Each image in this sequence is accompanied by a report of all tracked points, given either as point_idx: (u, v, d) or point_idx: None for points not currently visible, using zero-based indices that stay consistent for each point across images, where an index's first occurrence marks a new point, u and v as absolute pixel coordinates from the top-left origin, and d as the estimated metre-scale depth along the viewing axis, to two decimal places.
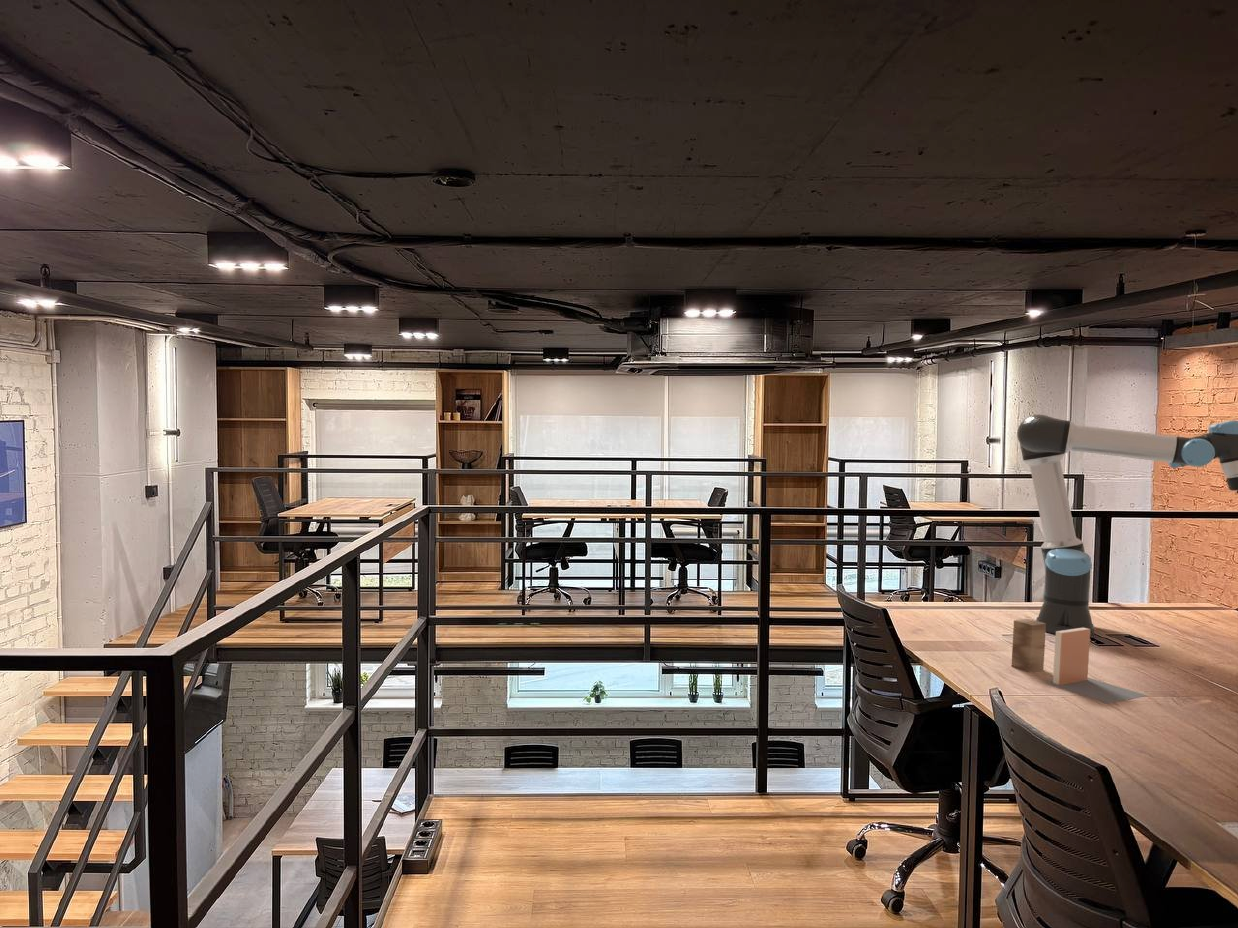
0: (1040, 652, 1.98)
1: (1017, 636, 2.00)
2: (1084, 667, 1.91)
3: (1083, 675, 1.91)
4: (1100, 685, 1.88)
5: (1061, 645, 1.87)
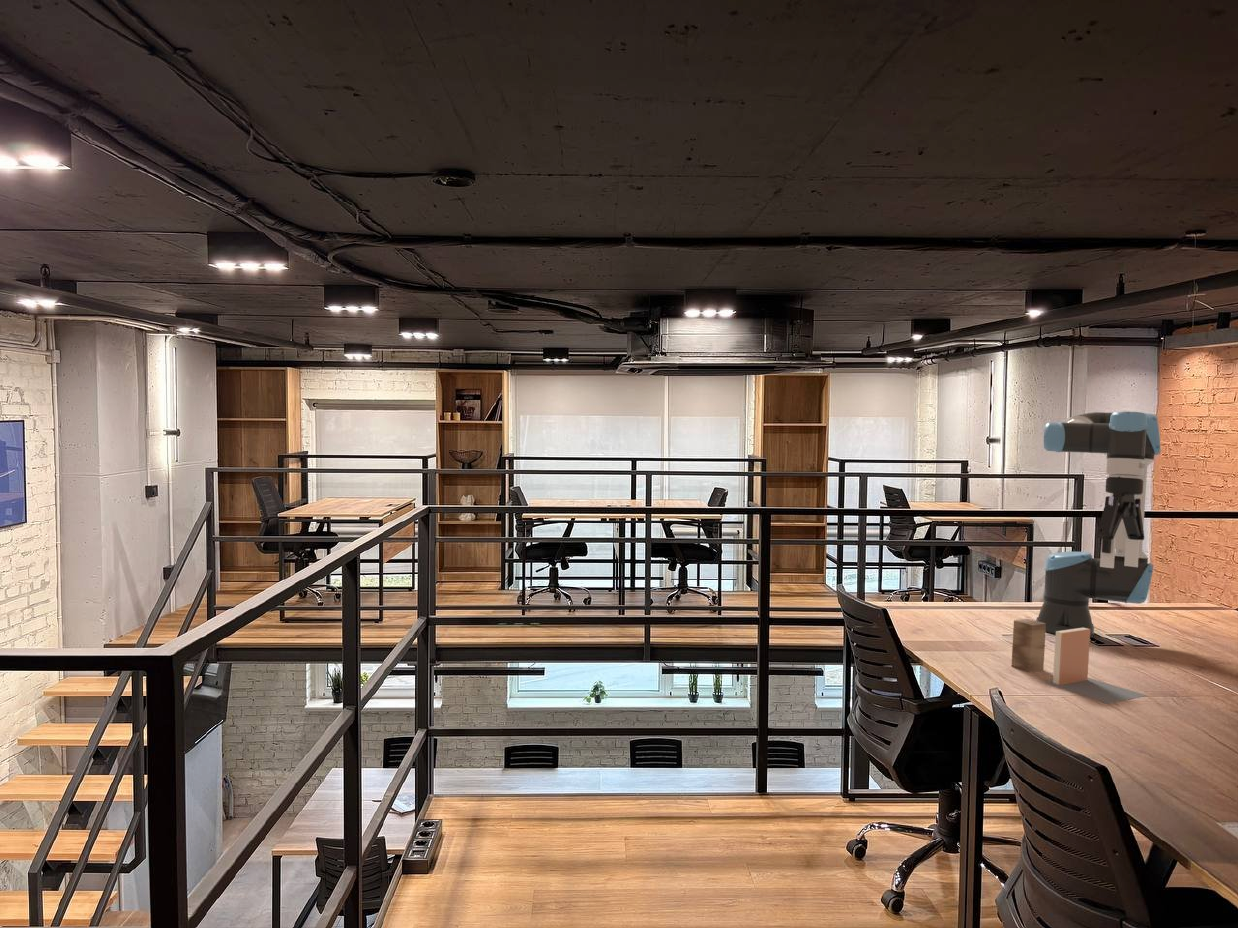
0: (1040, 652, 1.98)
1: (1017, 636, 2.00)
2: (1084, 667, 1.91)
3: (1083, 675, 1.91)
4: (1100, 685, 1.88)
5: (1061, 645, 1.87)
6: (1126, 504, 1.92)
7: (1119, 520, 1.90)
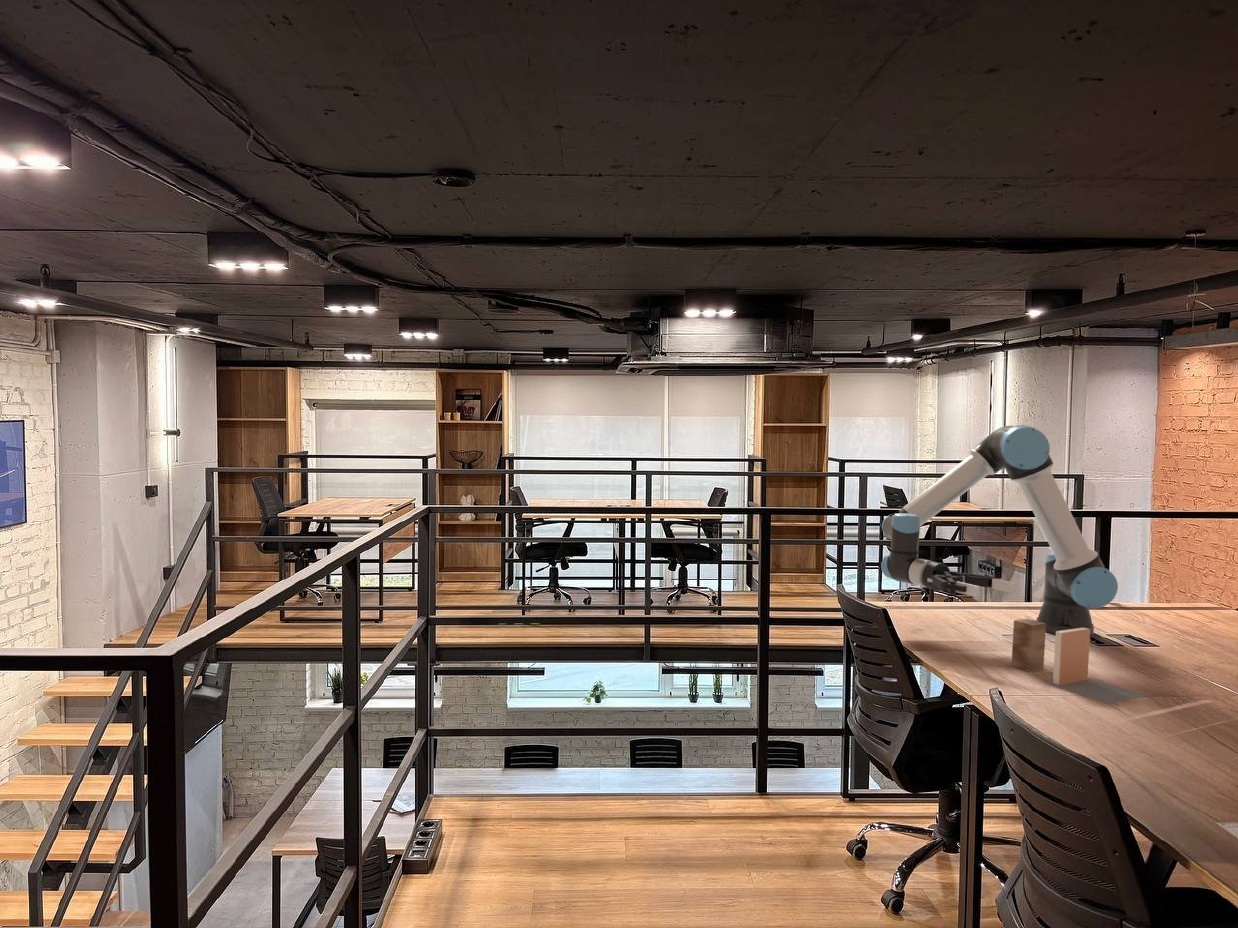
0: (1040, 652, 1.98)
1: (1017, 636, 2.00)
2: (1084, 667, 1.91)
3: (1083, 675, 1.91)
4: (1100, 685, 1.88)
5: (1061, 645, 1.87)
6: None
7: None
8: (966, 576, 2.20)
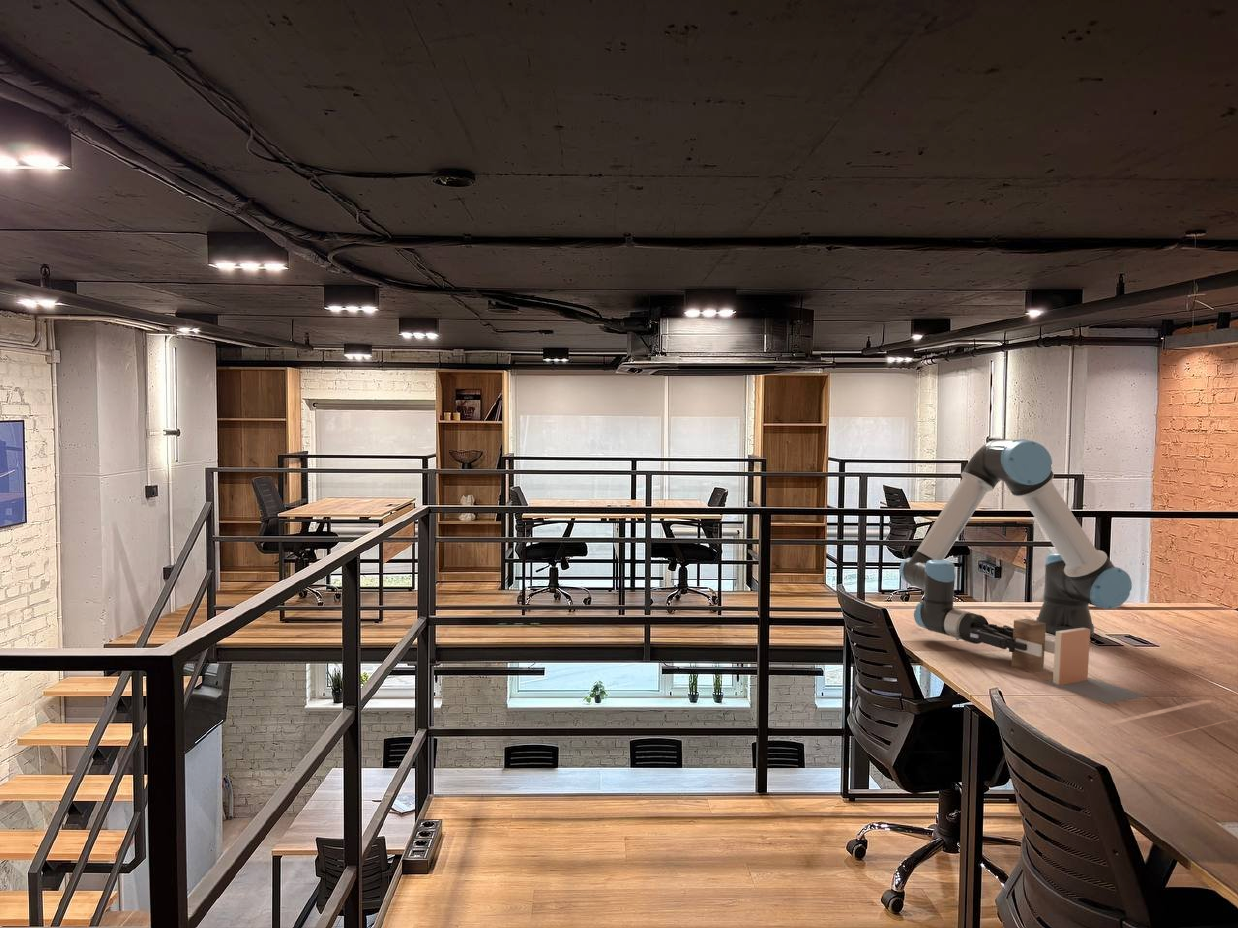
0: None
1: (1017, 635, 2.00)
2: (1084, 667, 1.91)
3: (1083, 675, 1.91)
4: (1100, 685, 1.88)
5: (1061, 645, 1.87)
6: None
7: None
8: (1004, 630, 2.08)
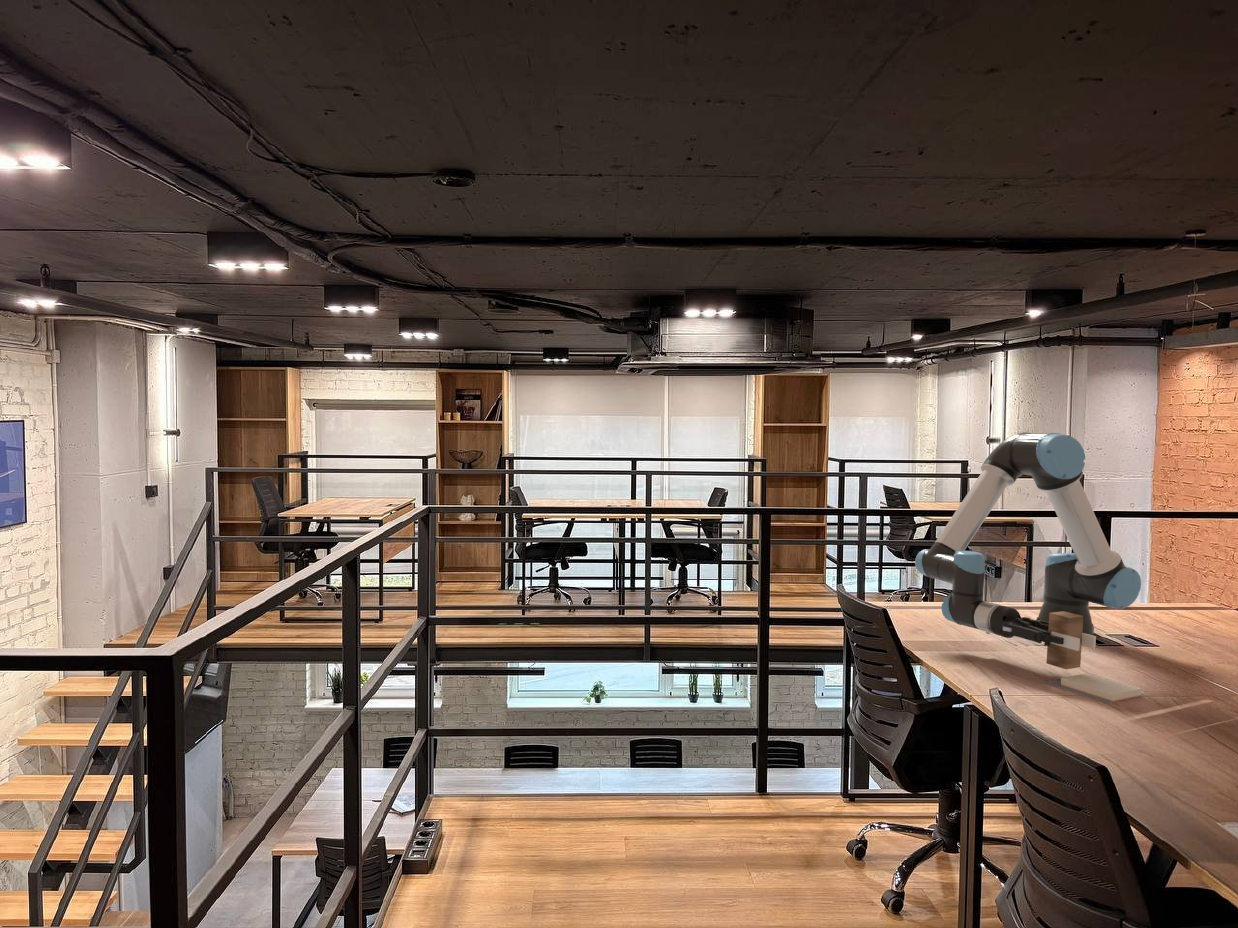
0: None
1: (1053, 629, 1.91)
2: None
3: None
4: None
5: (1099, 696, 1.79)
6: None
7: None
8: (1038, 624, 1.99)
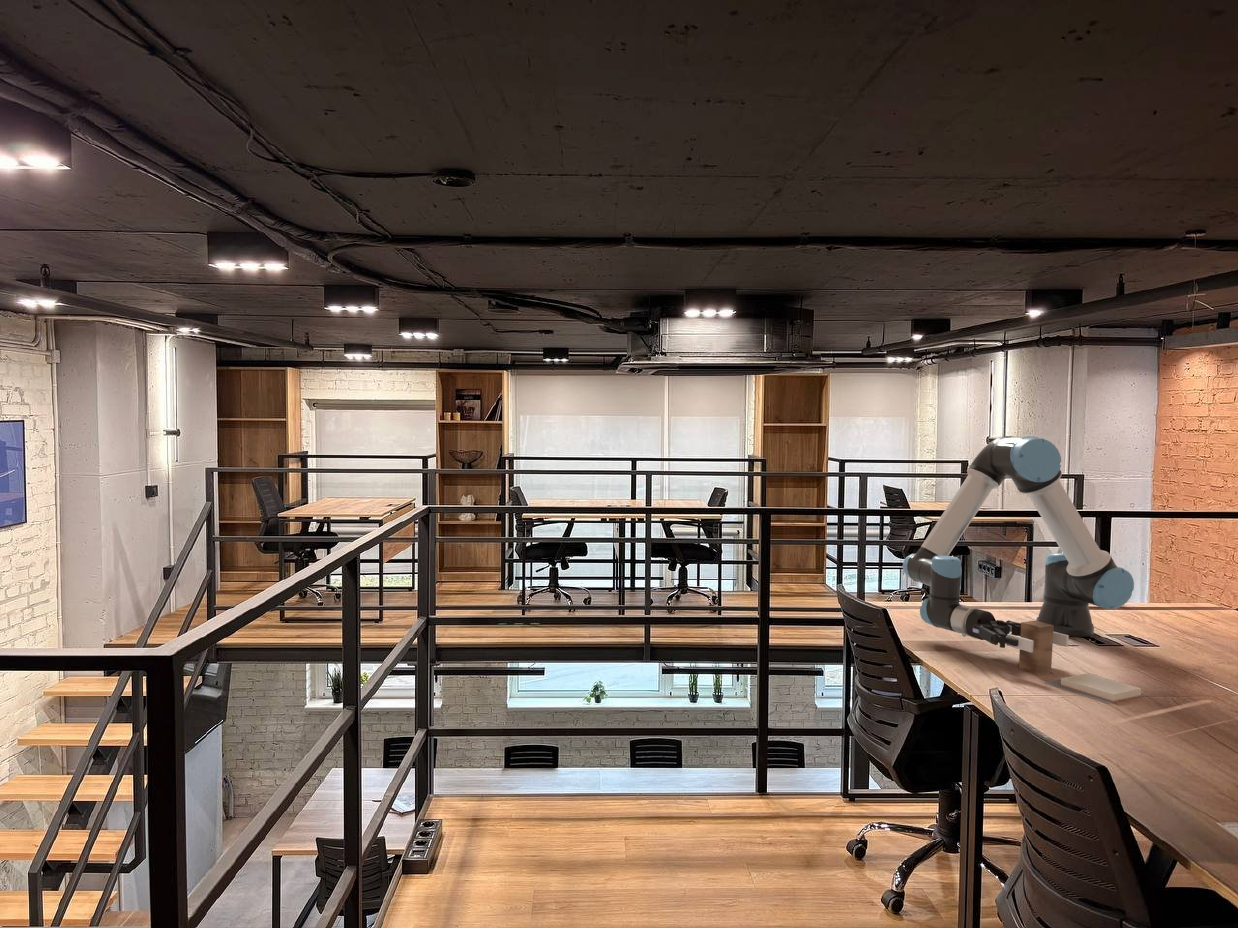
0: (1047, 655, 1.97)
1: None
2: None
3: None
4: None
5: (1099, 696, 1.79)
6: None
7: None
8: (1013, 626, 2.07)
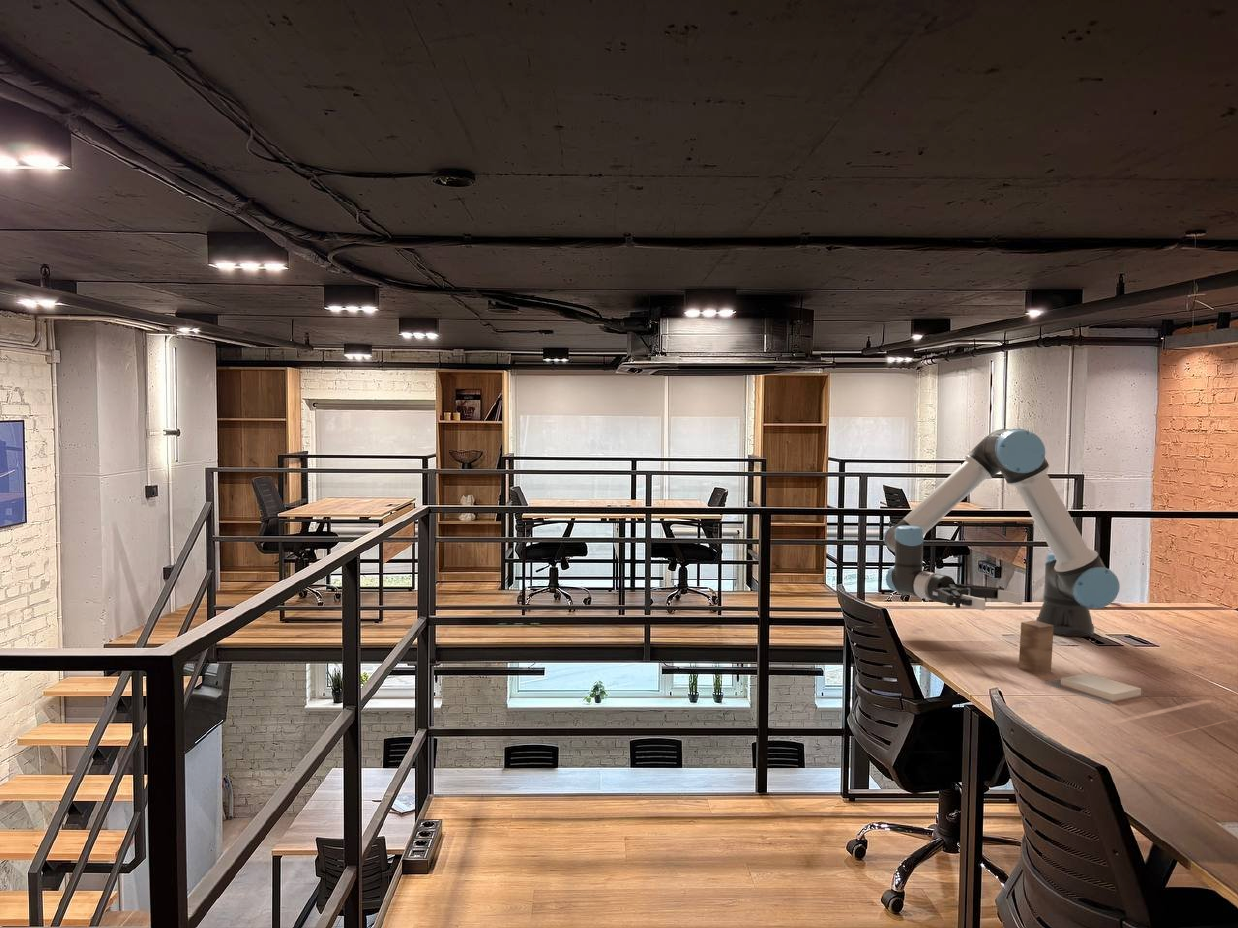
0: (1047, 655, 1.97)
1: (1025, 638, 1.98)
2: None
3: None
4: None
5: (1099, 696, 1.79)
6: None
7: None
8: (971, 588, 2.18)
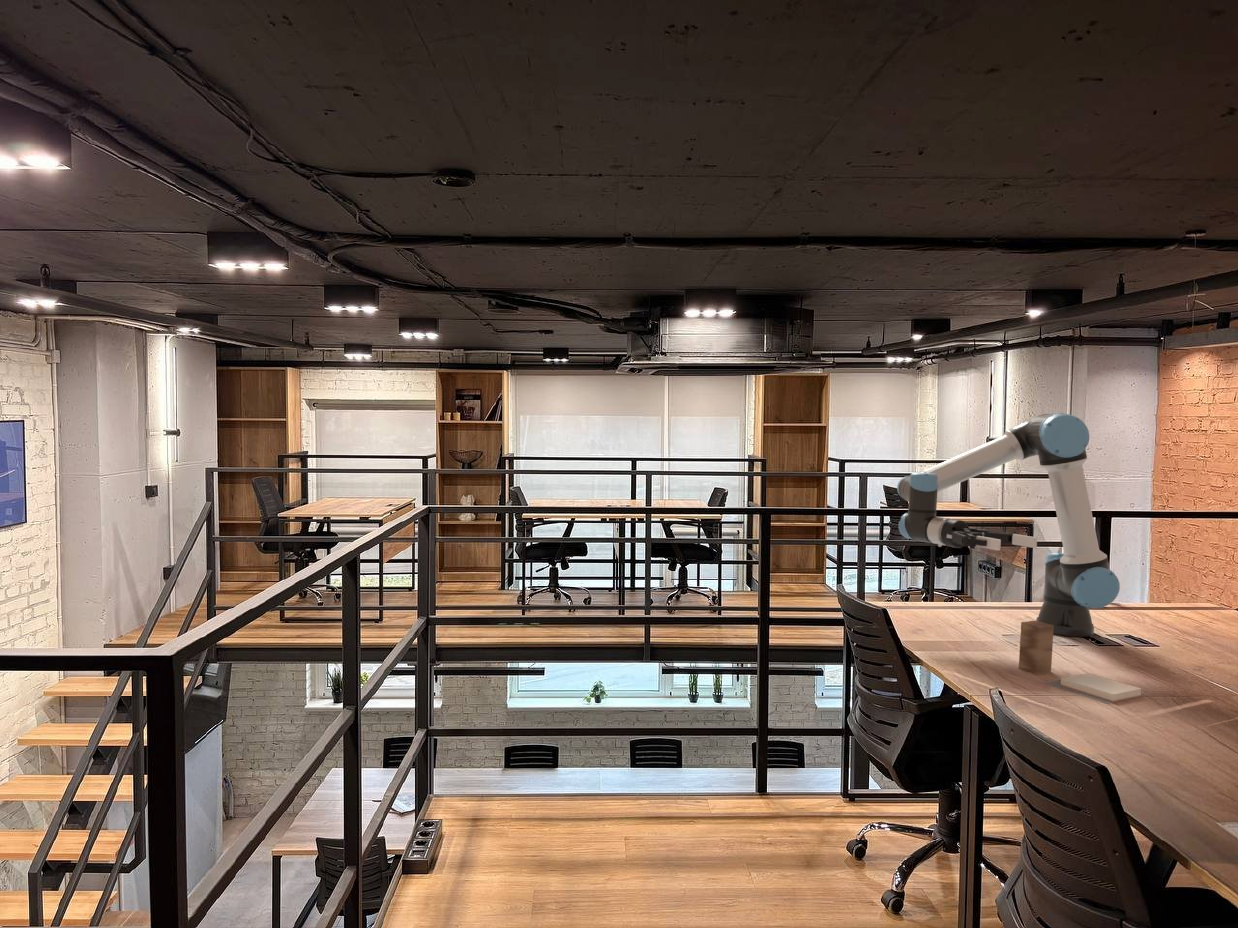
0: (1047, 655, 1.97)
1: (1025, 638, 1.98)
2: None
3: None
4: None
5: (1099, 696, 1.79)
6: None
7: None
8: (986, 532, 2.18)
